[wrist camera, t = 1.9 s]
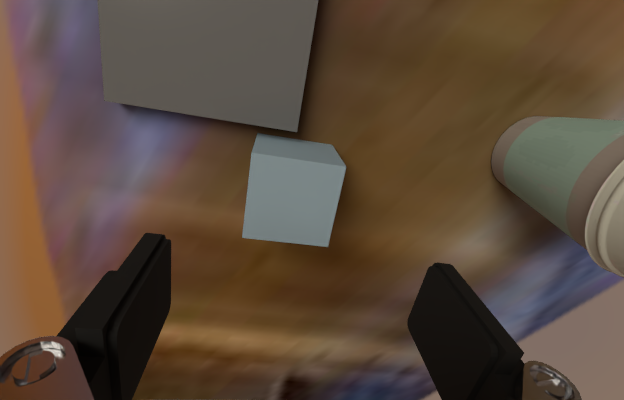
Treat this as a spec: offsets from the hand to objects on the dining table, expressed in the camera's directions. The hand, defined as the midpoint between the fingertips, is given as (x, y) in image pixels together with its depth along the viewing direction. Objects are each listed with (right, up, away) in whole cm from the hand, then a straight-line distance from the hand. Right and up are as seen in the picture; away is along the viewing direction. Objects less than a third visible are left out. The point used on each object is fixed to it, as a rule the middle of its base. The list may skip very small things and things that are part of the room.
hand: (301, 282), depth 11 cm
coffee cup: (+17, +7, +14) cm, 23 cm away
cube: (-1, +5, +13) cm, 14 cm away
